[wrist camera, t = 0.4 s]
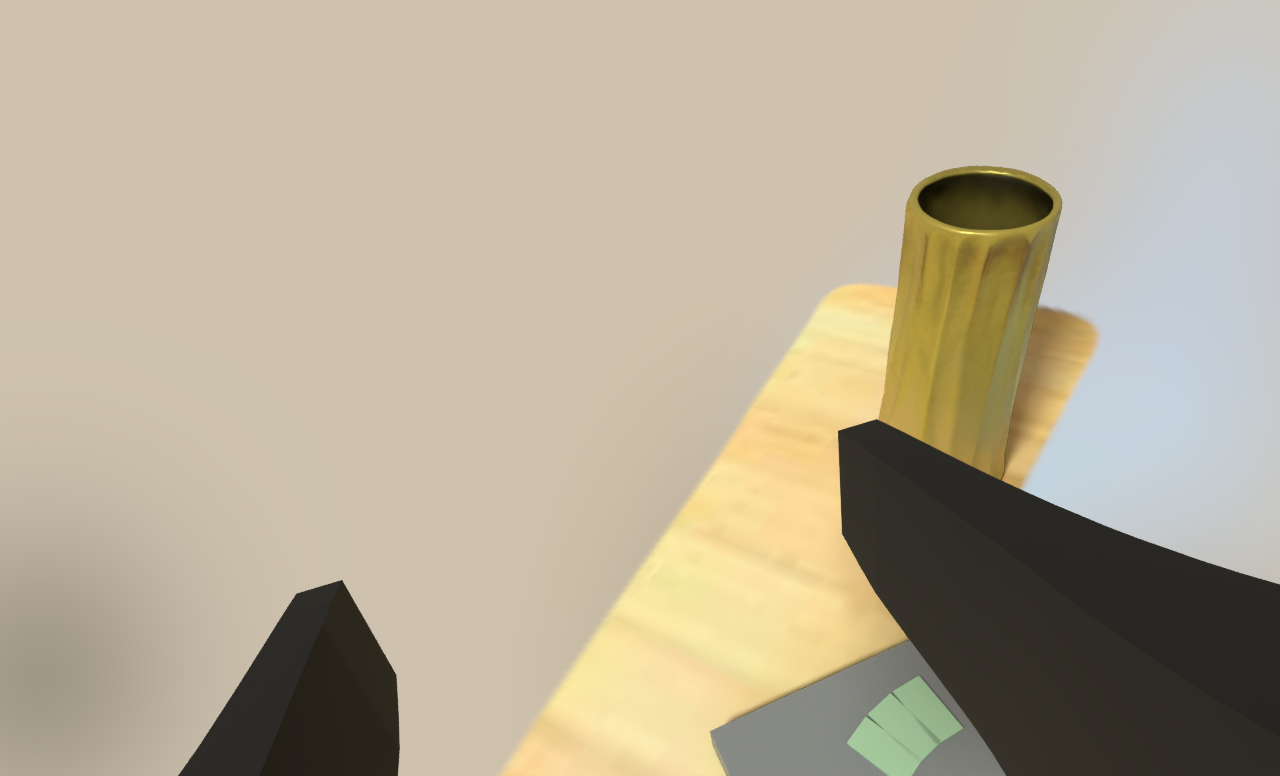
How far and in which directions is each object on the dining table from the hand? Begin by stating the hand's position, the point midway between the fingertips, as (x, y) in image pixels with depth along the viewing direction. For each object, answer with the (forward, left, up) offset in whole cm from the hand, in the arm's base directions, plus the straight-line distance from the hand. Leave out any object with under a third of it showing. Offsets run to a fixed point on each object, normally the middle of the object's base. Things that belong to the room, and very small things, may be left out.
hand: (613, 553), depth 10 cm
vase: (+13, -18, -20) cm, 30 cm away
